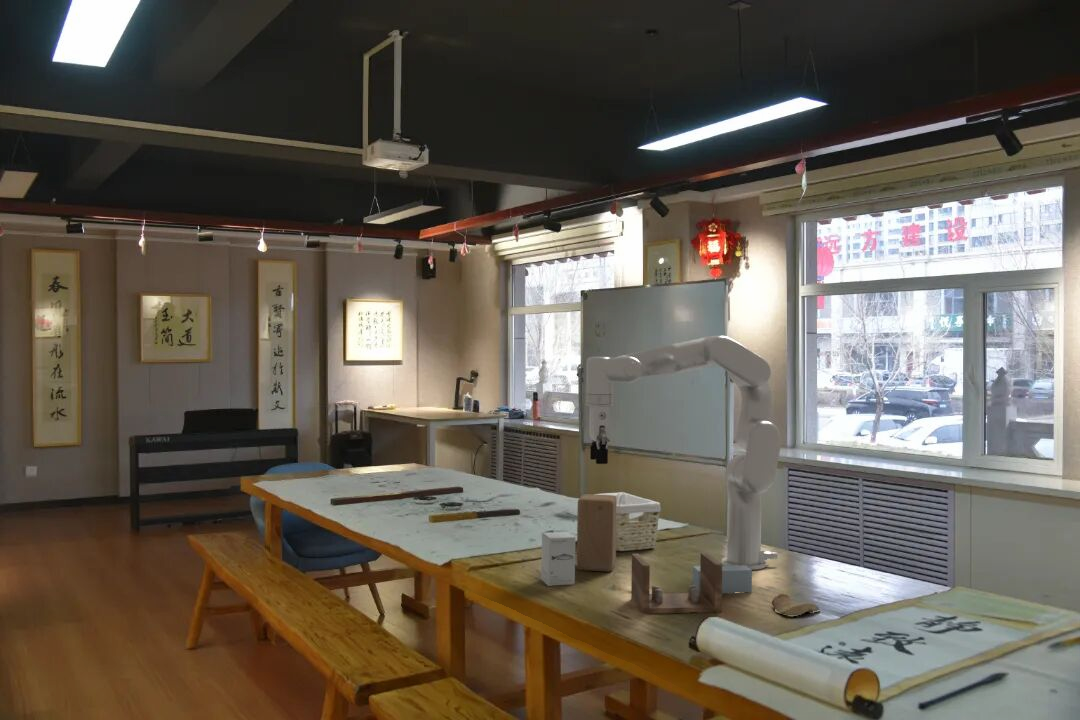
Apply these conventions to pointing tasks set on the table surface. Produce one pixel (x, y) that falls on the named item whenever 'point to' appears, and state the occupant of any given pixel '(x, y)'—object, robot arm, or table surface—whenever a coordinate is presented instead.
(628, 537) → the storage basket
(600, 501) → the wooden block
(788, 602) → the pottery shard
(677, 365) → the robot arm
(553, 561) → the supplement box
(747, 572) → the grey rectangular block
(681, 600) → the peg frame
